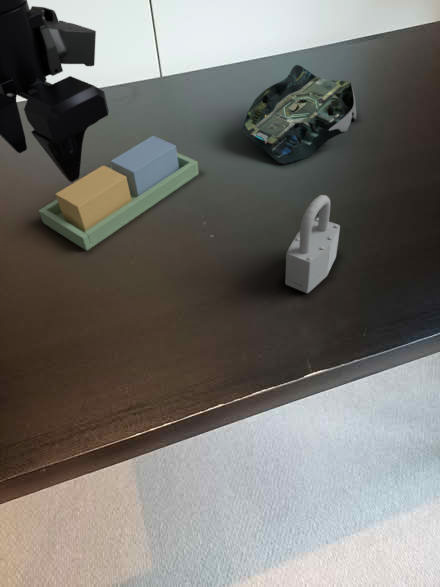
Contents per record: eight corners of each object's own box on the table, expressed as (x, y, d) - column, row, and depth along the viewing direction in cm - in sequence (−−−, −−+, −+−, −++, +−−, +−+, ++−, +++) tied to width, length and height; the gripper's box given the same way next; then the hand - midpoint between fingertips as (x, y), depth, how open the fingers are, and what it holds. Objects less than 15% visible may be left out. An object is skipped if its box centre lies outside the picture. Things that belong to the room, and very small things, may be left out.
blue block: (138, 197, 72) (133, 172, 69) (116, 185, 74) (110, 160, 71) (179, 170, 76) (176, 145, 73) (157, 159, 78) (152, 135, 75)
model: (238, 164, 81) (321, 180, 74) (227, 110, 75) (317, 122, 68) (300, 102, 91) (378, 111, 84) (295, 50, 85) (379, 55, 78)
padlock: (310, 247, 64) (315, 177, 57) (340, 259, 62) (350, 188, 55) (280, 283, 60) (282, 213, 53) (312, 297, 58) (318, 226, 51)
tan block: (85, 232, 68) (77, 207, 65) (63, 218, 70) (55, 193, 67) (132, 201, 71) (126, 176, 69) (109, 189, 74) (103, 164, 71)
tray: (86, 251, 66) (82, 238, 64) (43, 222, 70) (38, 210, 69) (198, 174, 76) (197, 161, 74) (154, 153, 80) (152, 141, 79)
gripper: (137, -5, 44) (163, 159, 55) (11, -37, 53) (55, 109, 64) (25, 41, 39) (79, 212, 50) (-94, -4, 48) (-25, 150, 59)
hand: (47, 164), depth 56 cm, fingers open, 9 cm apart
